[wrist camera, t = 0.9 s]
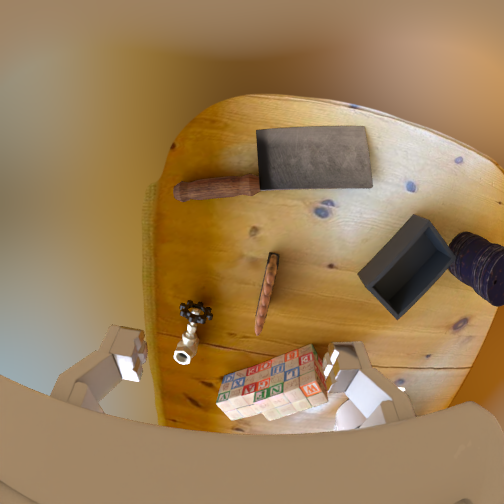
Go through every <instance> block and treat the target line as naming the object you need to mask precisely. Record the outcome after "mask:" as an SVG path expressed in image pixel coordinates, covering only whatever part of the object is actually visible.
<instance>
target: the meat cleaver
mask: <svg viewBox="0 0 504 504" xmlns="http://www.w3.org/2000/svg"><path fill="white" fill-rule="evenodd" d="M256 136H257V151H258V167H259V177H258V176H255V175H252V174H247V175H244V176H241V177H238V176H228V177H218V178H209V179H201V180H196V181H193V182H190V183H188V182H183V181H181V182H180V183H179V184H177V185H176V186H174V190H173V193H174V197H175V199H177V200H180V201H182V202H185V201H187V200H189V199H197V200H202V199H213V198H223V197H234V196H238V195H242V194H243V195H248V196H253V195H255V194H256V193H258V192H260V191H266V190H290V189H332V188H372V187H373V184H372V175H371V167H370V159H369V152H368V146H367V139H366V133H365V128H364V126H315V127H292V128H276V129H263V130H256Z"/></svg>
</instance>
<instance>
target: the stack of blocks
mask: <svg viewBox="0 0 504 504" xmlns="http://www.w3.org/2000/svg"><path fill="white" fill-rule="evenodd" d="M327 402H328V397H327V387H326V383H325V375H324V373H323V368H322V361H321V359H320V357H319V356H318V354H317V352H316V350H315V349H314V347H313V345H312V344H309V345H306V346H304V347H302V348H299V349H296V350H293V351H291V352H288V353H286V354H283V355H280V356H278V357H275V358H273V359H271V360H269V361H266V362H263V363H260V364H258V365H255V366H253V367H250V368H246V369H243V370H240V371H237V372H234V373H231V374H228V375H225V376H224V378H223V381H222V385H221V387H220V390H219V395H218V398H217V401H216V404H217V405H218V406H219V407H220V409H221V410H222V411H223V412H224V413H225V414H226V415H227V416H228V417H229V418H230V419H231V420H232V421H233V420H236V419H240V418H243V417H244V418H245V417H249V416H253V415H256V414H260V413H262V414H263V415H264V416H265V417H266V418H267V420H268V421H271V420H274V419H278V418H281V417H284V416H287V415H290V414H293V413H296V412H300V411H303V410H306V409H309V408H312V407H315V406H318V405H321V404H324V403H327Z"/></svg>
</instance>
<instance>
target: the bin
mask: <svg viewBox="0 0 504 504" xmlns="http://www.w3.org/2000/svg"><path fill="white" fill-rule="evenodd" d="M455 259H456V257H455V256H454V254H453V252H452V251H451V250H450V248H449V247H448V245H447V244H446V242H445V241H444V240H443V238H442V237H441V235H440V234H439V233H438V231H437V230H436V229H435V227H434V226H433V225H432V223H431V222H430V221H429V220H427V219H425V218H422V217H420V216H417V215H414V214H413V215H412V217H411V218H410V219H409V220H408V221H407V222H406V223H405V224H404V226H403V227H402V228H401V229H400V230H399V231H398V232H397V233H396V234H395V235H394V236H393V238H392V239H391V240H390V241H389V242H388V243H387V244H386V245H385V246H384V247H383V248H382V249H381V250H380V251H379V252H378V253H377V254H376V255H375V257H374V258H373V259H372V260H371V261H370V262H369V263H368V264H367V265H366V266H365V267H364V268H363V269H362V270H361V271H360V272H359V273H358V276H359V277H360V279H361V281H362V282H363V284H364V285H365V287H366V288H367V289H368V290H369V291H370V292H371V293H372V294H373V295H374V296H375V297H376V298H377V299H378V300H379V301H380V302H381V303H382V305H383V306H384V307H385V308H386V309H387V310H388V311H389V312H390V313H391V314H392V315H393V316H394V317H395V318H396V319H397V320H398V319H399V318H400V317H401V316H402V315H404V314H405V313H406V312H407V311H408V310H409V309H410V308H411V307H412V306H413V305H414V304H415V303H416V302H417V301H418V300H419V299H420V298H421V297H422V296H423V295H424V294H425V293H426V292H427V291H428V289H429V288H430V287H431V286H432V285H433V284H434V283H435V282H436V281H437V280H438V279H439V278H440V277H441V275H442V274H443V273H444V272H445V271H446V270H447V269H448V268H449V266H450V265H451V264H452V263H453V262H454V261H455Z"/></svg>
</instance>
